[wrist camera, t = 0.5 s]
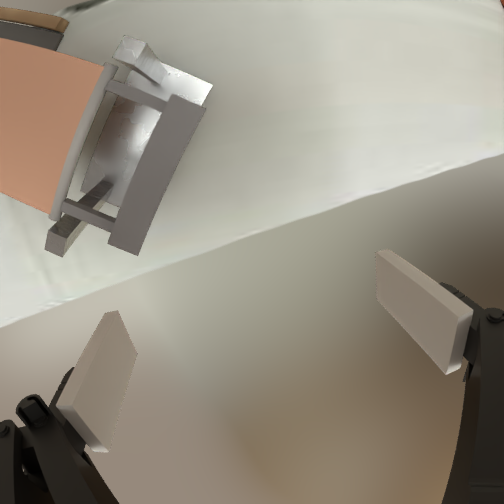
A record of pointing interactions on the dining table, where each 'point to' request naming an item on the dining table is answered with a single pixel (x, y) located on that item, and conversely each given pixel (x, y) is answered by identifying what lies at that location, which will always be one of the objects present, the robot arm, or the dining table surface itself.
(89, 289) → the dining table surface
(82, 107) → the drop flap
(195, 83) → the flap stand
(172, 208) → the dining table surface
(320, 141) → the dining table surface
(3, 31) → the mat
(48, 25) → the wooden picture frame
